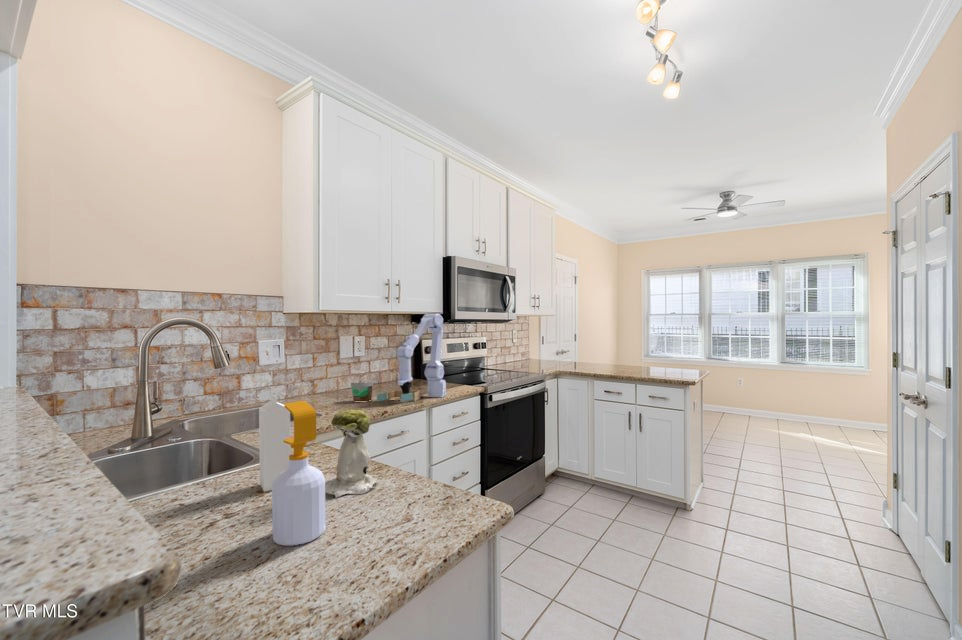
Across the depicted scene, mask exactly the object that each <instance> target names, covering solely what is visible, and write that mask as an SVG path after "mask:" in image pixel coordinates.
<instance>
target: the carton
mask: <svg viewBox="0 0 962 640" xmlns="http://www.w3.org/2000/svg"><path fill="white" fill-rule="evenodd" d="M409 393H413V400H409V401H408V402H416V401H419V400H420V399H421V390H412V389H411V390H410V391H409ZM401 394H403V392H402V389H401V390H400V389H398V390H397V389H395V390H391V391H389V392H387V401H388V400H389V399H391V398H393V397H400V398H398V399H395V400H401Z"/></svg>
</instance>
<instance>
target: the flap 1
mask: <svg viewBox="0 0 962 640" xmlns="http://www.w3.org/2000/svg"><path fill="white" fill-rule="evenodd" d="M386 400H387V401H388V392H383V393H377V394H376V402H382V401H386Z"/></svg>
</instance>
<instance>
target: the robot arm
mask: <svg viewBox="0 0 962 640" xmlns="http://www.w3.org/2000/svg"><path fill="white" fill-rule="evenodd" d="M443 325H444V318H443V316H442V315H441V314H440V313H430V314H429V313H426V314H423V316H422V318H420V323H419V325H418V326H417V328H416V329H415V331H414V333H413V334H410V335H407V339H406V340H405V341H404V342H403V343H402V345H401V346H399V347H398V348H397V350H396V352H395V354H396V356H397V359H398V368H399V370H398V371H399V378H398V379H397V386H399V387H400V388H401V390H402V392H403V394H409V391H410V389H411V387H412V386H413V383H412V381H414V380H413V379H414V378H413V376H412V363H411V358H412V356H413V354H414V350H415V348H416V346H418V344H419V342H420V337H421V336H422V335H423V334H424V332H425V331H426V330H427V329H429V330H430V331H431V332H432V338H431V348H430V357H429V361H427V364H426V366H425V369H424V372H423V373H424V376H425V378H426V380H427V394H426V395H425V396H424V397H425V398H444V397H445V396H447V385H446V384H447V382H446V379H443V378H444V375H445V370H444V364H442V362H441V356H442V347H443V346H442V345H443V337H444V335H443V334H444V326H443Z"/></svg>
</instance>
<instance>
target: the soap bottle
mask: <svg viewBox="0 0 962 640" xmlns="http://www.w3.org/2000/svg"><path fill="white" fill-rule="evenodd" d="M284 405H285V406H284V407H285V408H286V409H287V410H288V411H289V412H290V415H292V417H293V437H290V438H287V439H284V443H287V444H290V445H291V449H293V453H291V455H289V468H288V469H287V470H285V471H284V472H282V473H281V474H280V475H279V476H278V477H277V478H276V479H275V480H274V482H273V485H272V490H271V500H272V503H271V504H272V505H271V506H272V507H271V508H272V510H271V511H272V513H271V514H272V515H271V516H272V517H271V519H272V539H273V542H274V543H276V544H277V545H279V546H284V547H288V546H289V547H292V546H294V545H295V546H300V545H303V544H307V543H309V542H312V541H314V540H316V539H318V538H320V536H322V535H323V534H324V532H325V531H326V528H327V527H326V526H327V525H326V523H327V522H326V519H327V516H326V512H327V511H326V492H325V480H326V478H325V475H324V473H323V472H322V471H321V470H320V469H318V468H317V467H315V466H312V465H310V464H309V452H306V451H304V448H305V447H306V446H307V443H309V442H312V441H315V440H316V439H317V413H316V409H315V408H314V407H313V406H312V405H311V404H310V403H308V402H307V401H306V400H305V401H304V400H299V401H292V402H286V403H284ZM299 544H300V545H299Z"/></svg>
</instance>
